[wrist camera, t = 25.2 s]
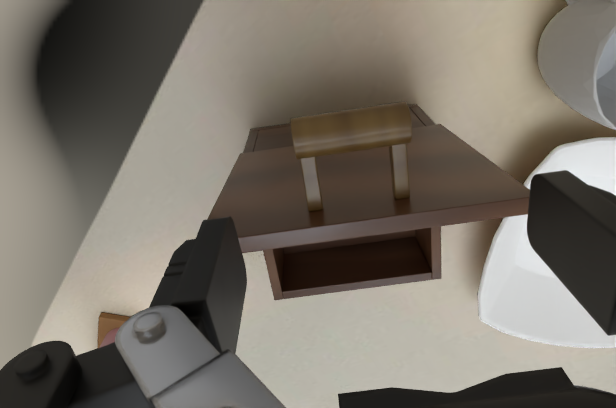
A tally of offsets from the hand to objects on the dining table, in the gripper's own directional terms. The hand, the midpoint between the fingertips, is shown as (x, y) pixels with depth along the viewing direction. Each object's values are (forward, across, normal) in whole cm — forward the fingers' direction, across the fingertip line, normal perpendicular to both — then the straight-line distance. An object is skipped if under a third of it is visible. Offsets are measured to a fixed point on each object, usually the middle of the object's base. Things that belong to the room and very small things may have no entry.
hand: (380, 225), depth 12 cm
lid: (+13, 0, +5) cm, 14 cm away
